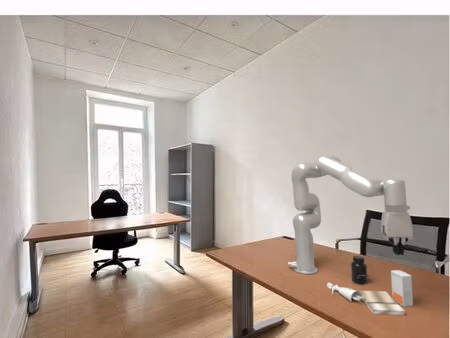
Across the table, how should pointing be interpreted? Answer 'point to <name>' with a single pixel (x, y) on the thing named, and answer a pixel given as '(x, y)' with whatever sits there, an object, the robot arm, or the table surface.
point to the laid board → (386, 308)
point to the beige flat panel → (376, 297)
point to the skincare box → (402, 288)
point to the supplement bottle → (359, 270)
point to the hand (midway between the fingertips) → (398, 253)
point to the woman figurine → (346, 292)
